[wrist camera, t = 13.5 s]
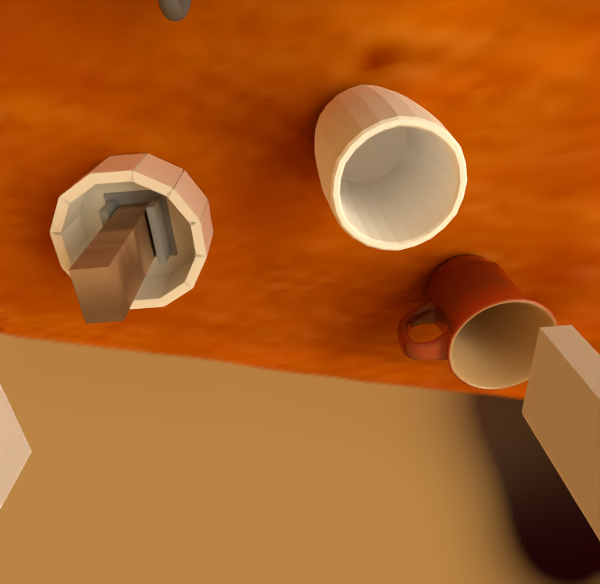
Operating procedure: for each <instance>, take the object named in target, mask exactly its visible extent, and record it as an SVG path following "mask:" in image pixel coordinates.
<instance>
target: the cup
mask: <svg viewBox="0 0 600 584" xmlns="http://www.w3.org/2000/svg"><path fill="white" fill-rule="evenodd" d="M315 158H316V164H317V168H318V173H319V178H320V182H321V186H322V189H323V192H324V194H325V197H326V199H327V201H328V203H329V205H330V208H331V210H332V212H333V214H334V216H335V217H336V219H337V221H338V223H339V224H340V226H341V227H342V228H343V229H344V230H345V231H346V232H347V233H348V234H349V235H350V236H351V237H353V238H354V239H356V240H358V241H359V242H361V243H363V244H364V245H366V246H370V247H374V248H377V249H381V250H397V251H398V250H402V249H406V248H410V247H414V246H416V245H418V244H420V243H423V242H425V241H427V240H429V239H431V238H432V237H433V236H435V235H436V234H437V233H438V232H440V231H441V230H442V229H443V228H445V226H446V225H447V224H448V223H449V222H450V221H451V220H452V218H453V217H454V216H455V215H456V213H457V211H458V209H459V207H460V204H461V202H462V200H463V197H464V192H465V187H466V183H467V175H466V162H465V159H464V156H463V153H462V149H461V146H460V145H459V144H458V143H457V142H456V140H455V139H454V138H453V137H452V136H451V134H450V133H449V132H448V131H447V130H446V128H445V127H444V126H443V125H442V124H441V122H440V121H439V120H437V119H436V118H435V117H434V116H433V115H432V114H431V113H429V112H428V111H427V110H425V109H424V108H422V107H421V106H420V105H418V104H417V103H415V102H414V101H412V100H411V99H409V98H407V97H405V96H403V95H401V94H399V93H397V92H394V91H391V90H388V89H385V88H382V87H379V86H374V85H359V86H356V87H352V88H349V89H347V90H345V91H343V92H342V93H340V94H338V95H337V96H335V97H334V98H333V99H332V100H331V101H330V102H329V103H328V104H327V105H326V107H325V108H324V110H323V111H322V113H321V114H320V116H319V118H318V122H317V126H316V129H315Z"/></svg>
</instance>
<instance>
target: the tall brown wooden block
mask: <svg viewBox="0 0 600 584" xmlns="http://www.w3.org/2000/svg"><path fill="white" fill-rule="evenodd" d="M148 204H149V203H136V204H123V205H120V206H119V207H118V208H117V210H116V211H115V212H114V213H113V215H112V216H111V217H110V218H109V220H108V221H107V222H106V223H105V225H104V226H103V227H102V228H101V230H100V231H99V232H98V234H97V235H96V236H95V237H94V239H93V240H92V241H91V242H90V244H89V245H88V246H87V247H86V249H85V250H84V251H83V252H82V254H81V255H80V256H79V257H78V259H77V260H76V261H75V262H74V264H73V265H72V266H71V267H70V269H69V273H70V276H71V279H72V282H73V285H74V288H75V291H76V295H77V298H78V301H79V304H80V307H81V310H82V313H83V316H84V319H85V322H86V324H88V323H101V322H114V321H124V319H125V317H126V315H127V313H128V311H129V309H130V307H131V305H132V303H133V301H134V299H135V297H136V295H137V293H138V290H139V288H140V286H141V284H142V282H143V280H144V278H145V276H146V274H147V272H148V270H149V268H150V266H151V264H152V262H153V260H154V258H155V256H156V250H155V245H154V241H153V236H152V232H151V228H150V223H149V219H148V214H147V210H146V207H147V206H148Z"/></svg>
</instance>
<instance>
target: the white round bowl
mask: <svg viewBox="0 0 600 584" xmlns="http://www.w3.org/2000/svg"><path fill="white" fill-rule="evenodd" d="M183 170H184V169H182V168H180V167H178V166H175V165H173V164H171V163H169V162H166V161H164V160H162V159H160V158H158V157H155V156H153V155H151V154H149V153H148V154H147V153H143V154H130V155H116V156H110V157H108V158H106V159H105V160H104V161H102V162H101V163H100V164H99V165H97V166H96V167H95V168H93V169H92V170H91V171H89V172H88V173H87V174H85V175H84V176H83V177H82V178H80V179H79V180H78V181H77V182H76V183H75V184H74V185H72V186H71V187H70V188H69V189H68V190H67V191H65V192H64V193H63V194H62V195H61V196H60V197H59V199H58V203H57V206H56V210H55V214H54V217H53V221H52V225H51V228H50V235H51V238H52V241H53V244H54V247H55V250H56V253H57V256H58V259H59V262H60V265H61V268H62V269H63V270H64V271H65V272H66V273H67V274H68V275H69V276H70V273H69V269H70V267H71V266H72V265H73V264H74V262H75V261H76V260H77V259H78V257H79V256H80V255H81V254H82V252H83V251H84V250H85V249H86V247H87V246H88V245H89V244H90V242H91V241H92V240H93V239H94V237H95V236H96V235H97V234H98V232H99V231H100V230H101V228H102V227H103V226H104V225H105V223H106V222H107V221H108V220H109V218H110V217H111V216H112V215H113V213H114V212H115V211H116V210H117V208H118V207H119V206H120V205H123V204H136V203H149V204H148V206H147V207H146V210H147V214H148V219H149V223H150V228H151V232H152V236H153V241H154V245H155V250H156V256H155V258H154V260H153V262H152V264H151V266H150V268H149V270H148V272H147V274H146V276H145V278H144V280H143V282H142V284H141V286H140V288H139V290H138V293H137V295H136V297H135V299H134V301H133V303H132V305H131V307H130V309H138V308H151V307H164V306H166V305H167V304H169V303H170V302H172V301H174V300H175V299H177V298H178V297H180V296H181V295H183V294H184V293H186V292H188V291H189V290H191V289H192V288H193V287H194V285H195V282H196V280H197V278H198V276H199V273H200V271H201V269H202V267H203V264H204V262H205V260H206V257H207V254H208V250H209V247H210V243H211V239H212V236H213V227H212V221H211V215H210V209H209V202H208V200H207V197H206V196H205V195H204V194H203V192H202V191H201V190H200V189H199V187H198V186H197V185H196V184H195V182H194V181H193V180H192V179H191V177H190V176H189V175H188V174H187V172H186V171H185V170H184V171H183ZM70 277H71V276H70Z"/></svg>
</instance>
